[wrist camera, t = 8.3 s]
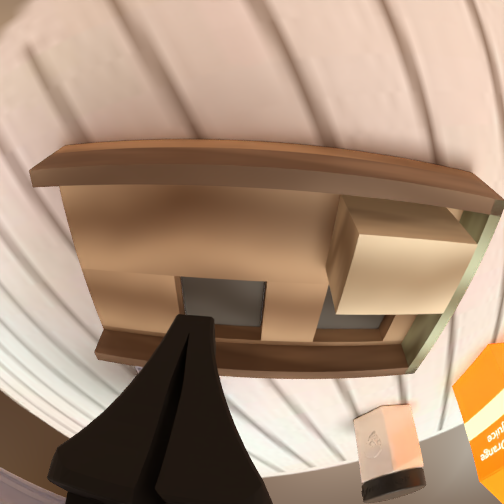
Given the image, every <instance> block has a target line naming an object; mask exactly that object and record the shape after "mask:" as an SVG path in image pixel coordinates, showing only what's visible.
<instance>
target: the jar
mask: <svg viewBox="0 0 504 504" xmlns="http://www.w3.org/2000/svg"><path fill="white" fill-rule="evenodd" d="M354 428H355V435H356V442H357V449H358V457H359V465H360V473H361V482H362V484H363V485H362V497H363V502H364V503H374V502H381V501H386V500H390V499H394V498H398V497H401V496H405V495H408V494H410V493H413V492H416V491H418V490H420V489H422V488H424V487H425V486H426V481H425V476H424V471H423V469H422V467H423V465H424V464H423V460H422V455H421V450H420V445H419V441H418V436H417V432H416V428H415V423H414V419H413V415H412V411H411V407H410V405H394V406H381V407H379V408H377V409H375V410H373V411H371V412H369V413H367V414H365V415H363V416H360V417H358V418H356V419H354Z"/></svg>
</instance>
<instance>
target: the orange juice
mask: <svg viewBox="0 0 504 504" xmlns="http://www.w3.org/2000/svg"><path fill="white" fill-rule="evenodd" d="M452 387H453V390H454V393H455V396H456V399H457V402H458V405H459V408H460V411H461V414H462V418H463V421H464V426H465V429H466V433H467V436H468V440H469V442H470V445H471V449H472V453H473V457H474V460H475V465H476V469H477V473H478V477H479V482H481V483H482V484H483V485H484V486H485V487H486V488H487V489H488V490H489V491H490V492H491V493H492V494H493V495H494V496H496V498H498V500H500V501H501V502H502V503H503V504H504V343H496V344H488V345H487V347H486V348H485V349H484V350H483V352H482V353H481V354H480V355H479V356H478V358H477V359H476V360H475V361H474V362H473V364H472V365H471V366H470V367H469V368H468V369H467V370H466V372H465V373H464V374H463V375H462V376H461V377H460V378H459V379H458V380H457V382H456V383H455V384H454V385H453V386H452Z"/></svg>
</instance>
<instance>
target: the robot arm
mask: <svg viewBox="0 0 504 504" xmlns="http://www.w3.org/2000/svg"><path fill="white" fill-rule="evenodd" d="M215 357H216V341H215V322H214V318H212V317H210V316H197V315H184V314H178V315H177V316H176V317H175V319H174V321H173V323H172V324H171V326H170V328H169V330H168V331H167V333H166V335H165V336H164V338H163V339H162V341H161V342H160V344H159V345H158V347H157V348H156V350H155V351H154V353H153V354H152V356H151V357H150V359H149V360H148V361H147V363H146V364H145V365H144V367H139V366H135V368H136V371H137V373H138V375H137V376H136V377H135V378H134V380H133V381H132V382H131V383H130V384H129V386H128V387H127V388H126V389H125V390H124V391H123V392H122V393H121V395H120V396H119V397H118V398H117V399H116V400H115V401H114V402H113V403H112V404H111V405H110V406H109V407H108V408H107V409H106V410H105V411H104V412H103V413H101V414H100V415H99V416H98V417H97V418H96V419H94V420H93V421H92V422H91V423H90V424H89V425H87V426H86V427H85V428H84V429H82V430H81V431H80V432H79V433H77V434H76V435H74V436H73V437H72V438H70V439H69V440H67V441H66V442H64V443H63V444H61V445H60V446H59V447H57V450H56V452H55V454H54V456H53V459H52V462H51V466H50V469H49V473H48V476H47V478H48V480H49V481H50V482H52V483H53V484H56V485H57V486H59V487H61V488H63V489H64V490H66V491H68V493H67V498H65V497H62V496H60V495H57V494H55V493H52V492H50V491H48V490H45V489H43V488H41V487H38V486H36V485H34V484H32V483H30V482H28V481H26V480H24V479H22V478H20V477H17V476H16V475H14V474H12V473H10V472H8V471H6V470H4V469H3V468H1V467H0V504H273V503H272V501H271V498H270V496H269V493H268V491H267V489H266V487H265V484H264V482H263V480H262V478H261V476H260V474H259V473H258V471H257V469H256V468H255V466H254V464H253V462H252V460H251V458H250V456H249V454H248V452H247V451H246V449H245V446H244V444H243V442H242V440H241V438H240V435H239V433H238V431H237V429H236V426H235V424H234V421H233V419H232V416H231V414H230V411H229V408H228V405H227V402H226V399H225V396H224V393H223V389H222V385H221V382H220V378H219V374H218V369H217V364H216V358H215Z"/></svg>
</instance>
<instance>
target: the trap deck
mask: <svg viewBox="0 0 504 504" xmlns="http://www.w3.org/2000/svg"><path fill="white" fill-rule="evenodd" d="M29 173H30V177H31V181H32V186H33V187H50V186H59V187H60V192H61V196H62V201H63V205H64V209H65V213H66V217H67V221H68V224H69V228H70V232H71V235H72V239H73V242H74V246H75V249H76V252H77V256H78V259H79V262H80V265H81V268H82V271H83V274H84V277H85V280H86V283H87V286H88V289H89V292H90V294H91V297H92V300H93V303H94V305H95V308H96V310H97V313H98V316H99V318H100V321H101V323H102V326H103V328H104V330H103V332H102V335H101V337H100V340H99V342H98V344H97V347H96V349H95V352H94V353H95V355H96V357H97V358H98V360H103V361H109V362H114V363H120V364H126V365H132V366H139V367H144V365H145V364H146V363H147V361H148V360H149V359H150V357H151V356H152V354H153V353H154V351H155V350H156V348H157V347H158V345H159V344H160V342H161V341H162V339H163V338H164V336H165V335H166V333H167V331H168V330H169V328H170V326H171V324H172V323H173V321H174V319H175V317H176V316H177V315H178V314H184V315H185V311H186V315H197V316H210V317H212V318H214V322H215V341H216V357H215V358H216V364H217V369H218V374H219V376H232V377H250V378H277V379H333V378H359V377H376V376H390V375H402V374H412V373H415V371H416V370H417V368H418V367H419V366H420V364H421V363H422V361H423V360H424V358H425V357H426V356H427V354H428V353H429V351H430V350H431V348H432V347H433V345H434V344H435V342H436V341H437V339H438V337H439V336H440V334H441V333H442V331H443V330H444V328H445V326H446V325H447V323H448V321H449V320H450V318H451V316H452V315H453V313H454V311H455V310H456V308H457V306H458V304H459V303H460V301H461V299H462V297H463V295H464V294H465V292H466V290H467V288H468V286H469V284H470V282H471V281H472V279H473V277H474V275H475V273H476V271H477V269H478V267H479V265H480V263H481V260H482V258H483V256H484V254H485V252H486V250H487V248H488V245H489V243H490V241H491V239H492V236H493V234H494V232H495V229H496V227H497V224H498V222H499V219H500V217H501V214H502V212H503V209H504V199H503V198H502V197H501V196H500V195H498V194H497V193H496V192H495V191H494V190H493V189H491V188H490V187H489V186H488V185H487V184H486V183H484V182H483V181H482V180H481V179H479V178H478V177H477V176H476V175H475V174H473V173H471V172H467V171H463V170H459V169H454V168H450V167H445V166H441V165H436V164H431V163H426V162H421V161H416V160H411V159H405V158H400V157H394V156H388V155H382V154H375V153H369V152H362V151H354V150H347V149H339V148H330V147H321V146H312V145H301V144H290V143H277V142H262V141H243V140H213V139H160V140H131V141H112V142H98V143H85V144H74V145H65V146H64V147H62V148H61V149H59V150H58V151H56V152H55V153H53V154H52V155H50V156H49V157H47V158H46V159H44V160H43V161H42V162H40V163H39V164H37V165H36V166H35V167H33V168H32V169H30V170H29ZM341 194H342V195H352V196H361V197H371V198H379V199H388V200H396V201H404V202H411V203H419V204H426V205H433V206H440V207H446V208H447V209H448V210H449V211H450V212H451V213H452V214H453V216H454V217H455V218H456V219H457V220H458V221H459V222H460V224H461V225H462V226H463V227H464V228H465V230H466V231H467V232H468V233H469V234H470V236H471V237H472V238H473V239H474V240H475V242H476V243H477V244H478V245H477V248H476V250H475V252H474V254H473V256H472V259H471V261H470V263H469V265H468V267H467V269H466V271H465V273H464V275H463V277H462V279H461V281H460V283H459V285H458V287H457V289H456V291H455V293H454V295H453V297H452V298H451V300H450V302H449V304H448V306H447V307H446V309H445V311H444V313H441V314H400V315H342V314H336V313H335V308H334V303H333V299H332V294H331V290H330V286H329V281H328V277H327V273H326V269H325V266H326V261H327V257H328V253H329V248H330V244H331V239H332V234H333V230H334V225H335V220H336V215H337V210H338V205H339V200H340V195H341ZM180 276H181V277H180ZM181 280H182V285H181ZM264 281H265V282H266V283H265V293H264V303H263V312H262V322H261V326H260V321H261V311H262V301H263V291H264ZM182 288H183V293H182ZM183 296H184V301H183ZM184 304H185V308H184Z"/></svg>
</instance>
